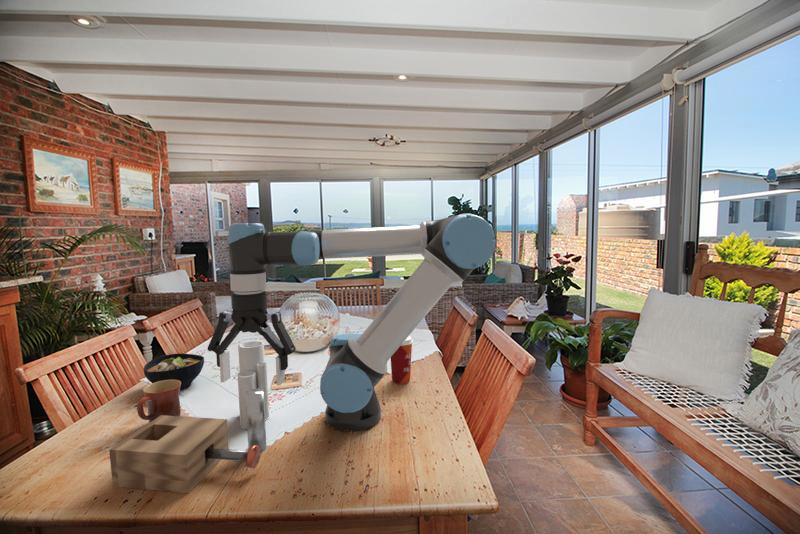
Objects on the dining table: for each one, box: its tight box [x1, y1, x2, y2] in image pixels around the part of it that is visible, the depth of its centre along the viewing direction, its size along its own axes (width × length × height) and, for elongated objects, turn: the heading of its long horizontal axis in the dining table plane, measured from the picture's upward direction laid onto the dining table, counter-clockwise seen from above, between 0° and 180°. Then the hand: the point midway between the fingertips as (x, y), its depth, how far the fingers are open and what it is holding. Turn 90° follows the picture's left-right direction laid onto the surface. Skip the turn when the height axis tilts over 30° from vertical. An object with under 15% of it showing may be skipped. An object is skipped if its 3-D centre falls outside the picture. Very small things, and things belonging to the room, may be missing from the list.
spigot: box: [245, 388, 267, 453], centre depth 90 cm, size 4×4×14 cm
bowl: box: [143, 353, 205, 392], centre depth 125 cm, size 17×17×10 cm
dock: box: [108, 415, 230, 494], centre depth 83 cm, size 17×14×8 cm
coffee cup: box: [390, 335, 414, 385], centre depth 128 cm, size 8×8×15 cm
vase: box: [237, 340, 270, 429], centre depth 104 cm, size 11×7×20 cm, turn 19°
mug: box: [136, 380, 181, 424], centre depth 101 cm, size 12×9×10 cm
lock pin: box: [205, 445, 262, 469], centre depth 81 cm, size 14×4×4 cm, turn 83°
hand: (253, 381), depth 89 cm, fingers open, 13 cm apart
